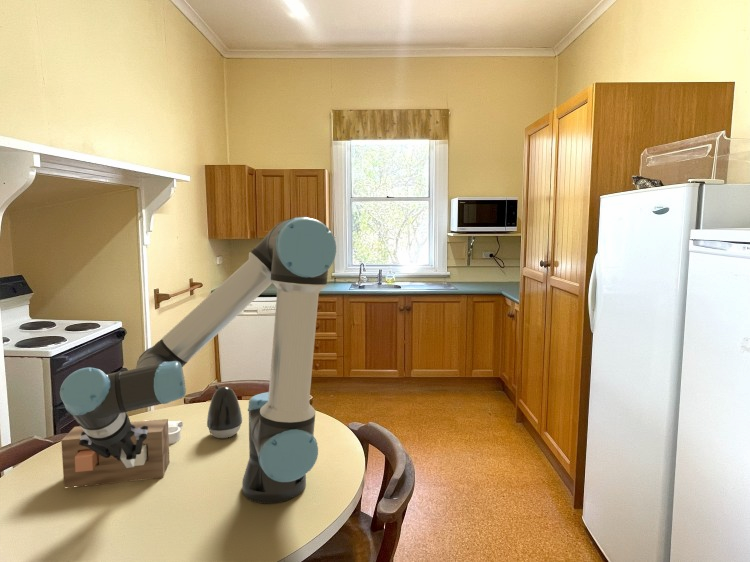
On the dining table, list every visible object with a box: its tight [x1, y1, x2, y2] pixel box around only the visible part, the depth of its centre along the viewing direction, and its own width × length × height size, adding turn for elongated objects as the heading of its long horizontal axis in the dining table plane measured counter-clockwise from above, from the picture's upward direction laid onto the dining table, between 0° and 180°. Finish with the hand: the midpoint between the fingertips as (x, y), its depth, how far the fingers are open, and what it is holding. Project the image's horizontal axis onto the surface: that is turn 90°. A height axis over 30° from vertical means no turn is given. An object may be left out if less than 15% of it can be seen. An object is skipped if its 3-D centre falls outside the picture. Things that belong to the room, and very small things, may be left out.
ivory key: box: [134, 444, 148, 466], centre depth 112 cm, size 5×4×4 cm
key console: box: [61, 418, 171, 489], centre depth 115 cm, size 8×22×12 cm, turn 104°
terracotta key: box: [75, 449, 99, 472], centre depth 109 cm, size 5×4×4 cm
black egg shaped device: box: [206, 384, 243, 439], centre depth 138 cm, size 10×10×15 cm
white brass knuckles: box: [144, 419, 184, 445], centre depth 137 cm, size 3×18×15 cm
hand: (130, 461), depth 107 cm, fingers closed
